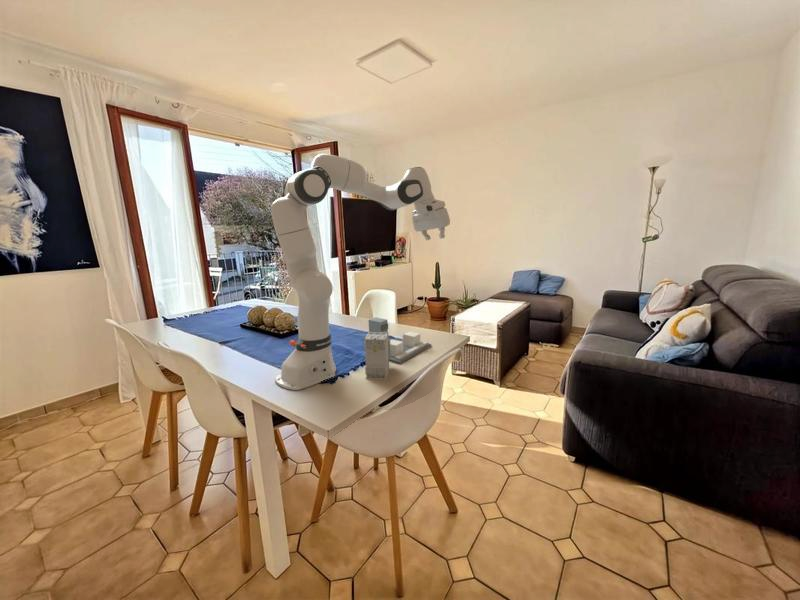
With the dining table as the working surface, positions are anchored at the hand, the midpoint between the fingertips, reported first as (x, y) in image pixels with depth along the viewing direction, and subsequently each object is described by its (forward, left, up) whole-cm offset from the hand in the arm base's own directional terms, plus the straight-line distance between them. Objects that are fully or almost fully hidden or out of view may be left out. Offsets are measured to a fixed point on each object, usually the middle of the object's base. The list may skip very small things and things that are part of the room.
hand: (435, 238), depth 142 cm
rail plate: (-16, +6, -48) cm, 51 cm away
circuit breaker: (-37, +2, -48) cm, 60 cm away
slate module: (-16, +20, -48) cm, 54 cm away
